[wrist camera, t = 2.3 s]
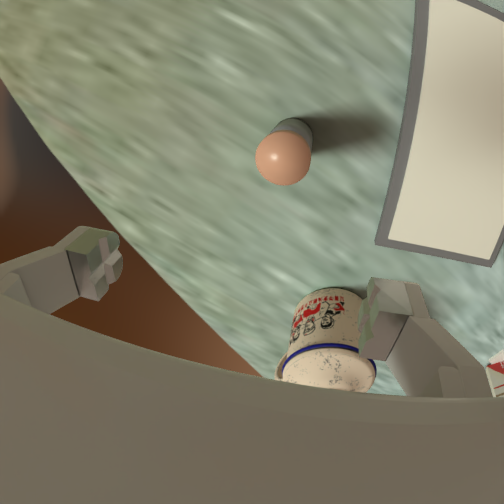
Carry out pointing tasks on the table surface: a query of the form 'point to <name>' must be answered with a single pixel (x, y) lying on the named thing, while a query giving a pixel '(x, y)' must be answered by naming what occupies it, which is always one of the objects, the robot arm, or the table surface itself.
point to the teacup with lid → (327, 344)
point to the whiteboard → (450, 137)
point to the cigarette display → (496, 374)
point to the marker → (285, 152)
